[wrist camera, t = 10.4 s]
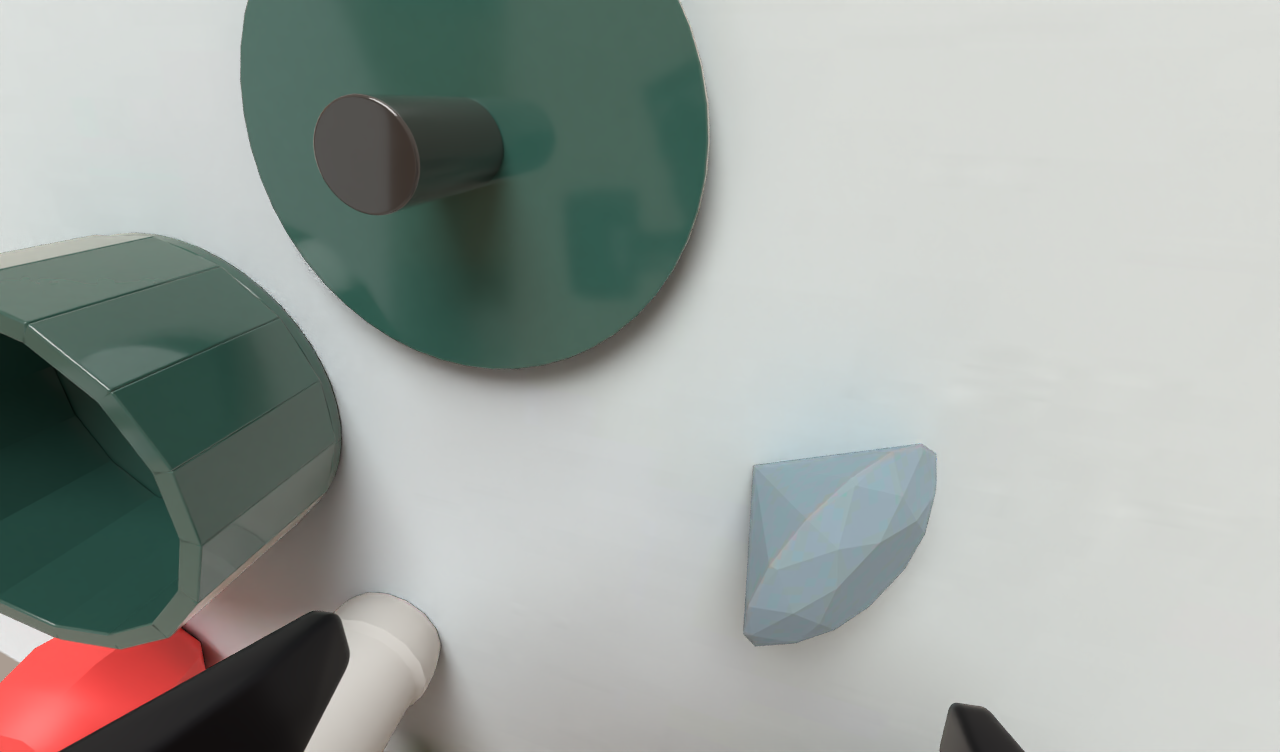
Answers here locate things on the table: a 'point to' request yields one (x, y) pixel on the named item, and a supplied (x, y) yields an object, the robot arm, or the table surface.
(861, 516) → the gemstone
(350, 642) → the bottle
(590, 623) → the table surface
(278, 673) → the robot arm
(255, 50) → the lid
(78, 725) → the apple
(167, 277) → the pot
